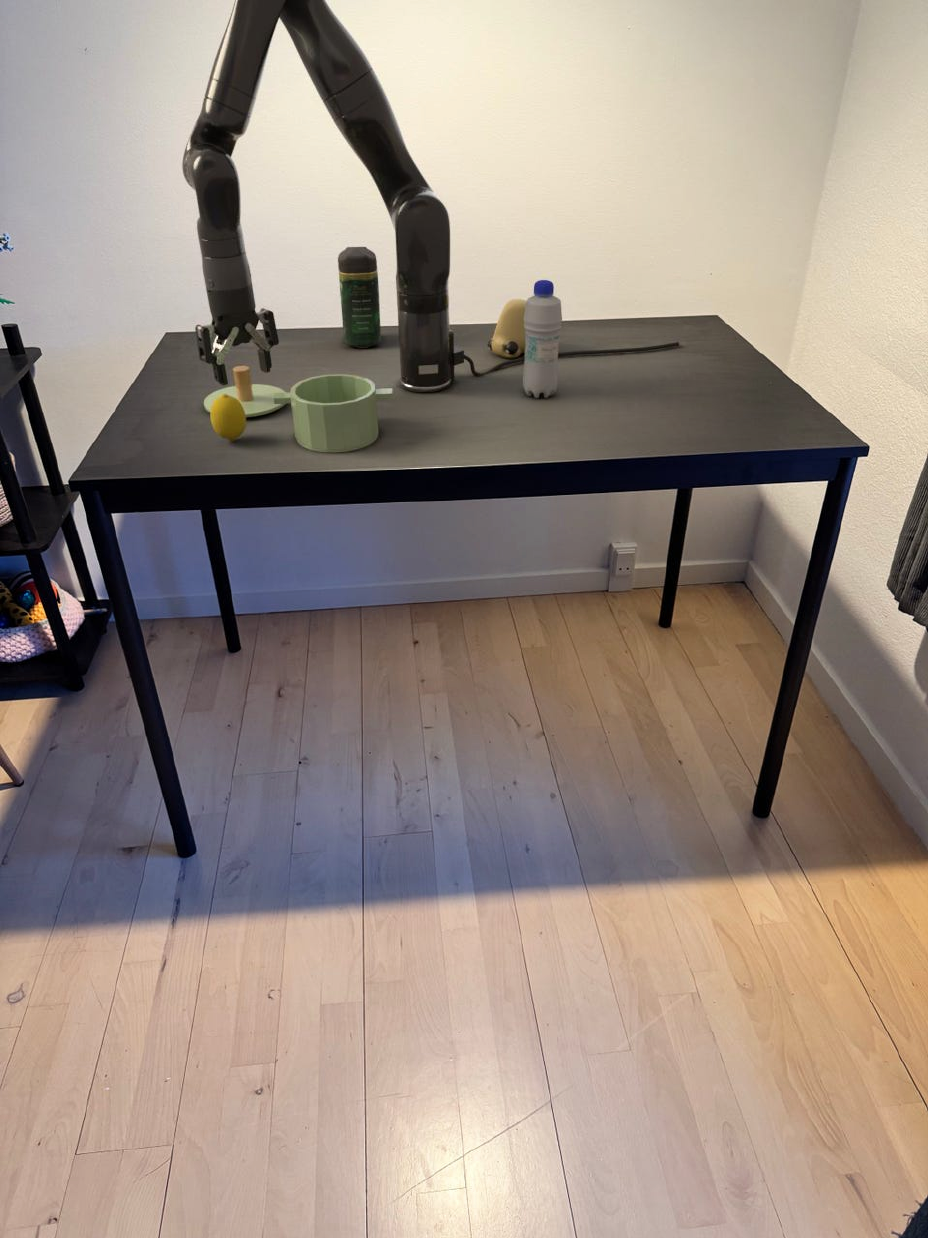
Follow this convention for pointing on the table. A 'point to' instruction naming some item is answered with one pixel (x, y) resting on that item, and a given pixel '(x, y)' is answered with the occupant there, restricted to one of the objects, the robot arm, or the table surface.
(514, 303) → the beige curved piece
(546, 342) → the bottle
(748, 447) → the table surface
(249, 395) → the lid
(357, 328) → the coffee jar
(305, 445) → the pot
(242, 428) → the lemon
